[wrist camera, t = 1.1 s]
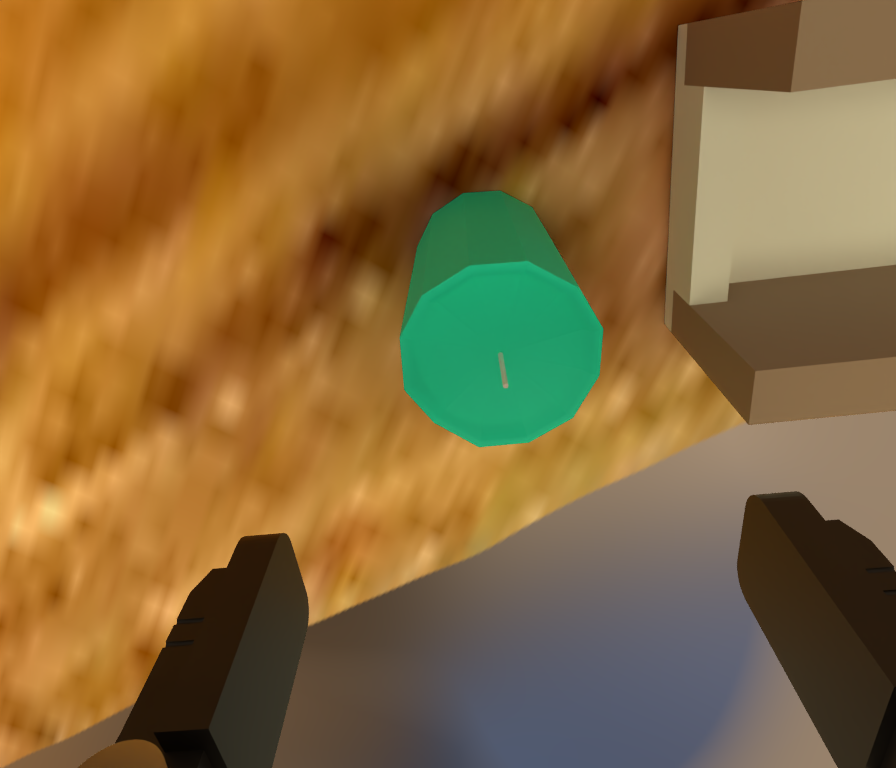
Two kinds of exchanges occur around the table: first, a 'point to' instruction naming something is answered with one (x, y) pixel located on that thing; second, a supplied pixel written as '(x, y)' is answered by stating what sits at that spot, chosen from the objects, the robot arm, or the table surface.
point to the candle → (496, 324)
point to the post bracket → (787, 207)
